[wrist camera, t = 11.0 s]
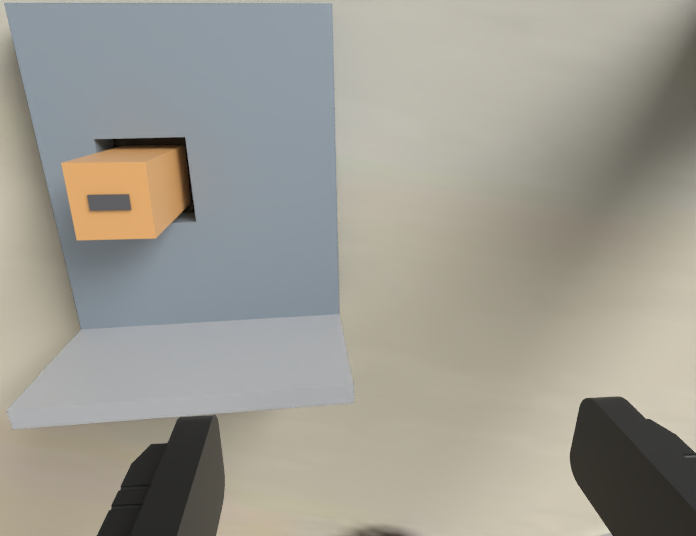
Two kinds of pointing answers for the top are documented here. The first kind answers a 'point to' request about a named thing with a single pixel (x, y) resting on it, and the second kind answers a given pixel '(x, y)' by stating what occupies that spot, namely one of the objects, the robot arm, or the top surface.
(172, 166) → the block
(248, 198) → the grey slotted stand
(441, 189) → the top surface
